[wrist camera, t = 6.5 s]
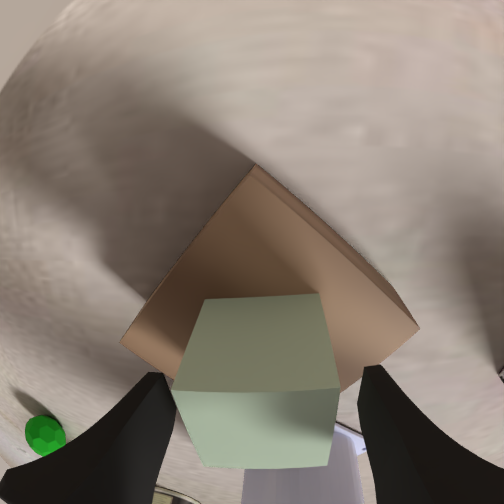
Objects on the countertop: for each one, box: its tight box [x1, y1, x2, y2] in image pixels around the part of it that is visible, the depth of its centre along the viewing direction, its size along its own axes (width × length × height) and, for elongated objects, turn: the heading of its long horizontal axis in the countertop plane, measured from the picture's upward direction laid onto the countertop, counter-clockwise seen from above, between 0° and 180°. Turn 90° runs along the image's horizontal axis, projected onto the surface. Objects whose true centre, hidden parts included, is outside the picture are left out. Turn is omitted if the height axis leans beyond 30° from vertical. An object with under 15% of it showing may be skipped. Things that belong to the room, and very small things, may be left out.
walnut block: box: [119, 164, 420, 393], centre depth 15 cm, size 10×10×4 cm
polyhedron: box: [25, 415, 66, 457], centre depth 23 cm, size 5×5×5 cm
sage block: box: [171, 293, 341, 469], centre depth 10 cm, size 4×4×5 cm
